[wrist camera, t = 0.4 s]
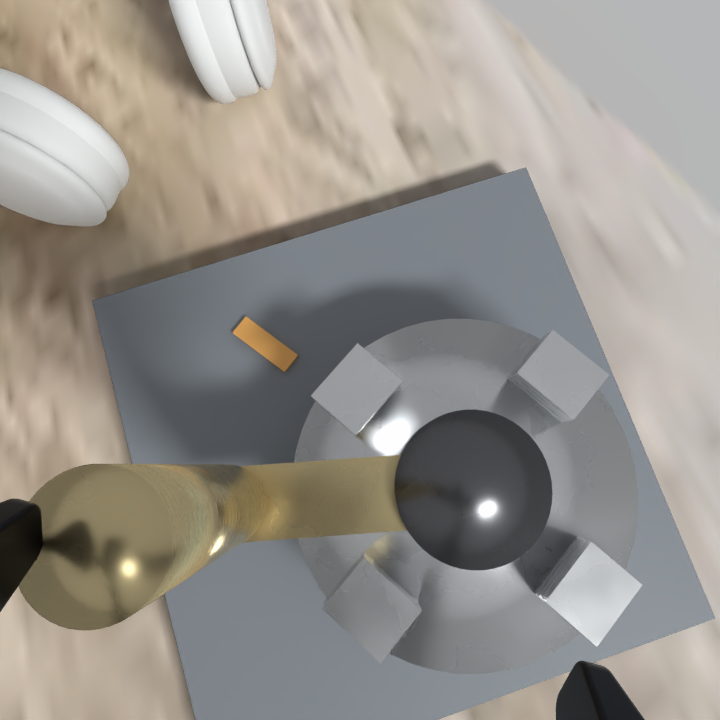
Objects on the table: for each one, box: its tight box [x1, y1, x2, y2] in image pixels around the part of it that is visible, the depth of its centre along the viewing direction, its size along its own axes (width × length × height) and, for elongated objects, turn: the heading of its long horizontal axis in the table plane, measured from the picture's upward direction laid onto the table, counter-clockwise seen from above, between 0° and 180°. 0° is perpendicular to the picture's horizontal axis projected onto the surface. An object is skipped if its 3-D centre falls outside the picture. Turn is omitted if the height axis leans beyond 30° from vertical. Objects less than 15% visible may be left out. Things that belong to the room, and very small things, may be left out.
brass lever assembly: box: [19, 319, 642, 674], centre depth 16 cm, size 15×12×13 cm
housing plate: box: [92, 167, 715, 720], centre depth 23 cm, size 20×20×2 cm
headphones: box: [0, 0, 276, 227], centre depth 25 cm, size 7×18×20 cm
